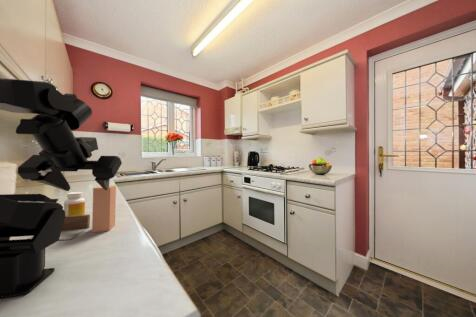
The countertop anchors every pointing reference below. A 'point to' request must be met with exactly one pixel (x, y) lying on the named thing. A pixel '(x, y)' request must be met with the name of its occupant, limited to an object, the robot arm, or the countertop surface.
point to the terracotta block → (103, 209)
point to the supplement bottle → (74, 204)
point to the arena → (74, 226)
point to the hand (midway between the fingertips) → (88, 189)
